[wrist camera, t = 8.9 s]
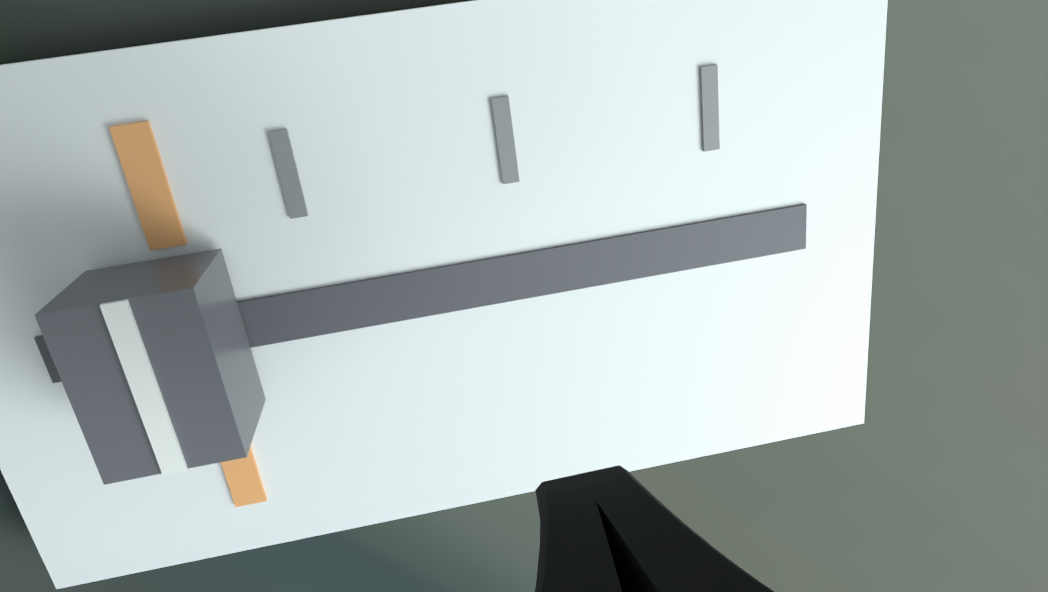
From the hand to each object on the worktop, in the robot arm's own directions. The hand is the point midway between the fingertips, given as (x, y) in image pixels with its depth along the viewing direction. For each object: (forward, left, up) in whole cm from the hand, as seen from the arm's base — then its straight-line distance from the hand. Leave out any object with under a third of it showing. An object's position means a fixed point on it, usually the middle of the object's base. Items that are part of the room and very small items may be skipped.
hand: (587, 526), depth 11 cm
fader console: (+1, +1, -10) cm, 11 cm away
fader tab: (+1, +8, -8) cm, 11 cm away
